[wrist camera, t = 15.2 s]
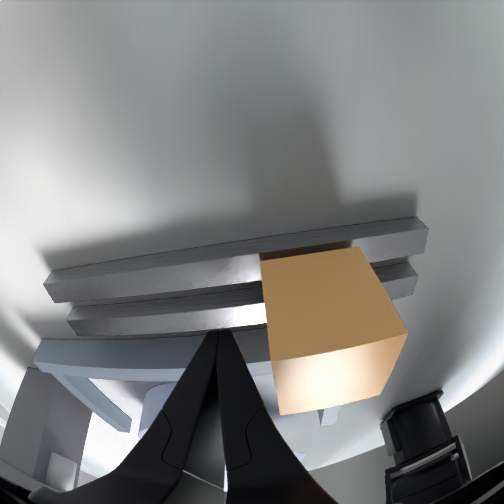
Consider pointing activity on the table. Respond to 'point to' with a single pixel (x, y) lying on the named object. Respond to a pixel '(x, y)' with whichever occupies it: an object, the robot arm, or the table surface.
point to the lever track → (220, 279)
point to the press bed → (95, 398)
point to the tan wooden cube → (328, 329)
